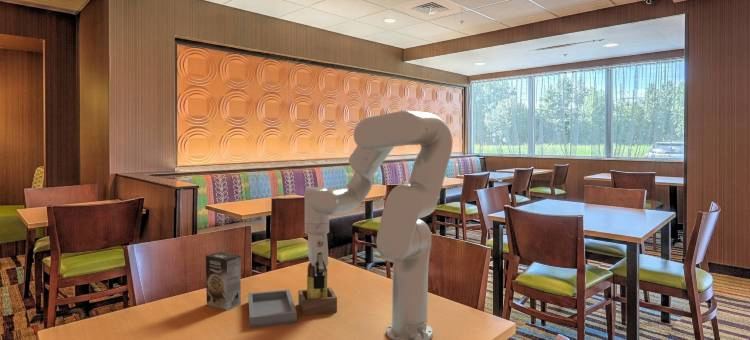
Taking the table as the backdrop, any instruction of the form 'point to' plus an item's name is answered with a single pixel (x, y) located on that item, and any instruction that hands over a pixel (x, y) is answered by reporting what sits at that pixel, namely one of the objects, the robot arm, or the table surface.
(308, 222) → the robot arm
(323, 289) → the sauce bottle
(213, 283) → the coffee box
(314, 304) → the open wooden box frame
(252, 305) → the tray
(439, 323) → the table surface
